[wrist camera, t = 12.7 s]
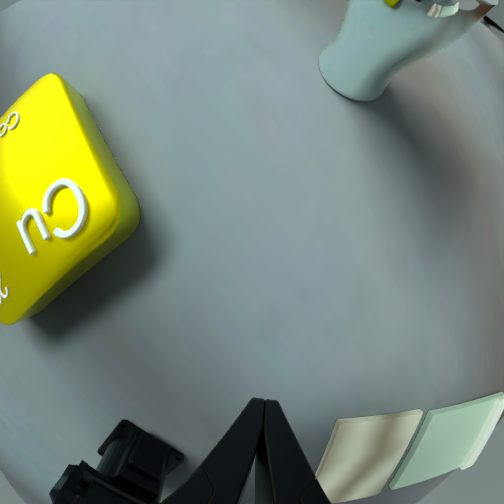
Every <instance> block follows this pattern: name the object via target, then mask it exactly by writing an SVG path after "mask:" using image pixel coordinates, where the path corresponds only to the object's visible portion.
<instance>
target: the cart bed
mask: <svg viewBox="0 0 504 504" xmlns="http://www.w3.org/2000/svg"><path fill="white" fill-rule="evenodd" d="M422 415H423V412H422V411H421V410H420V409H416V410H411V411H405V412H398V413H392V414H384V415H376V416H367V417H357V418H344V419H337V420H336V423H335V426H334V428H333V431H332V434H331V437H330V439H329V442H328V444H327V447H326V450H325V452H324V455H323V457H322V459H321V462H320V464H319V467H318V469H317V471H316V474H315V476H316V478H315V479H318V481H319V483H320V485H321V487H322V489H323V490H324V492H325V494H326V495H327V497H328V499H329V500H330V502H331V503H332V504H333V503H339V502H345V501H350V500H356V499H360V498H365V497H370V496H374V495H378V494H379V493H380V492H381V490H382V489H383V487H384V486H385V484H386V483H387V481H388V479H389V478H390V476H391V474H392V473H393V471H394V469H395V468H396V466H397V464H398V462H399V461H400V459H401V457H402V455H403V453H404V452H405V450H406V448H407V446H408V444H409V442H410V440H411V438H412V436H413V434H414V432H415V430H416V428H417V426H418V423H419V421H420V419H421V417H422Z"/></svg>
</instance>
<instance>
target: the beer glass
mask: <svg viewBox="0 0 504 504" xmlns="http://www.w3.org/2000/svg"><path fill="white" fill-rule="evenodd" d="M497 4H498V0H348V4H347V8H346V12H345V16H344V20H343V23H342V26H341V29H340V31H339V33H338V35H337V37H336V38H335V39H334V41H333V42H332V43H331V44H330V45H329V46H327V47H326V48H325V49H324V50H323V52H322V53H321V55H320V58H319V68H320V71H321V73H322V76H323V77H324V79H325V80H326V82H327V83H328V84H329V85H330V86H331V87H332V88H333V89H334V90H335V91H337V92H338V93H340V94H341V95H343V96H345V97H347V98H349V99H352V100H356V101H371V100H374V99H376V98H378V97H379V96H380V95H381V94H382V93H383V91H384V90H385V88H386V87H387V85H388V83H389V82H390V80H391V79H392V78H393V77H394V76H395V75H396V74H397V73H399V72H400V71H402V70H403V69H405V68H407V67H409V66H411V65H413V64H415V63H417V62H420V61H422V60H424V59H426V58H428V57H430V56H432V55H434V54H436V53H437V52H439V51H441V50H443V49H445V48H447V47H448V46H449V45H451V44H452V43H454V42H455V41H457V40H458V39H459V38H461V37H462V36H463V35H464V34H465V33H467V32H468V31H469V30H470V29H471V28H472V27H473V26H475V25H476V24H477V23H478V22H479V21H480V20H481V19H482V18H483V17H484V16H485V15H486V14H487V13H488V12H489V11H490V10H491V9H492V8H493V7H494V6H496V5H497Z"/></svg>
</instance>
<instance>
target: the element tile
mask: <svg viewBox="0 0 504 504" xmlns="http://www.w3.org/2000/svg"><path fill="white" fill-rule="evenodd" d="M139 219H140V209H139V203H138V200H137V197H136V196H135V194H134V192H133V191H132V189H131V187H130V185H129V184H128V182H127V180H126V179H125V177H124V175H123V173H122V171H121V170H120V168H119V166H118V164H117V163H116V161H115V159H114V157H113V155H112V153H111V152H110V150H109V148H108V146H107V144H106V142H105V140H104V139H103V137H102V135H101V133H100V131H99V129H98V127H97V125H96V123H95V121H94V119H93V117H92V115H91V113H90V111H89V109H88V107H87V105H86V103H85V101H84V99H83V97H82V96H81V95H80V93H78V92H77V91H76V90H75V89H74V88H73V87H72V86H71V85H70V84H69V83H68V82H67V81H66V80H65V79H64V78H63V77H62V76H60V75H58V74H56V73H50V74H47V75H45V76H43V77H41V78H40V79H39V80H37V81H36V82H35V83H34V84H33V85H32V86H31V87H30V88H29V89H28V90H27V91H26V92H25V93H23V94H22V95H21V96H20V97H19V99H18V100H17V101H16V102H15V103H14V104H13V105H12V106H11V107H10V108H9V109H8V110H7V111H6V112H5V113H4V115H3V116H2V117H1V118H0V323H2V324H4V325H13V324H15V323H17V322H20V321H22V320H24V319H27V318H29V317H31V316H33V315H36V314H38V313H39V312H41V311H42V310H43V309H44V308H45V307H46V306H47V305H48V304H50V303H51V302H52V301H53V300H54V299H55V298H56V297H57V296H58V295H60V294H61V293H62V292H63V291H64V290H65V289H66V288H68V287H69V286H70V285H71V284H72V283H73V282H75V281H76V280H77V279H78V278H79V277H81V276H82V275H83V274H84V273H85V272H87V271H88V270H89V269H90V268H91V267H93V266H94V265H95V264H96V263H98V262H99V261H100V260H101V259H103V258H104V257H105V256H106V255H108V254H109V253H110V252H111V251H113V250H114V249H115V248H117V247H118V246H119V245H120V244H122V243H123V242H124V241H126V240H127V239H128V238H129V237H130V236H131V235H132V234H133V232H134V231H135V229H136V227H137V226H138V224H139Z"/></svg>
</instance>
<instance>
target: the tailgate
mask: <svg viewBox="0 0 504 504" xmlns="http://www.w3.org/2000/svg"><path fill="white" fill-rule="evenodd" d="M503 409H504V393H503V392H499V393H496V394H493V395H490V396H487V397H483V398H480V399H476V400H473V401H469V402H465V403H461V404H457V405H453V406H449V407H444V408H440V409H435V410H430V411H428V413H427V415H426V417H425V420H424V422H423V424H422V426H421V428H420V430H419V432H418V434H417V436H416V438H415V440H414V442H413V444H412V446H411V448H410V450H409V452H408V454H407V455H406V457H405V459H404V461H403V463H402V464H401V466H400V468H399V469H398V471H397V473H396V474H395V476H394V478H393V479H392V481H391V482H390V484H389V487H390V488H391V490H394V489H398V488H401V487H405V486H408V485H412V484H415V483H418V482H421V481H424V480H427V479H430V478H433V477H436V476H439V475H441V474H444V473H447V472H449V471H452V470H454V469H457V468H459V467H460V468H461V469H462V470H463V469H466V468H468V467H470V466H472V465H473V463H474V462H475V460H476V459H477V457H478V456H479V454H480V452H481V451H482V449H483V447H484V446H485V444H486V442H487V440H488V439H489V437H490V435H491V433H492V431H493V429H494V427H495V426H496V424H497V422H498V420H499V418H500V416H501V413H502V411H503Z"/></svg>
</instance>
